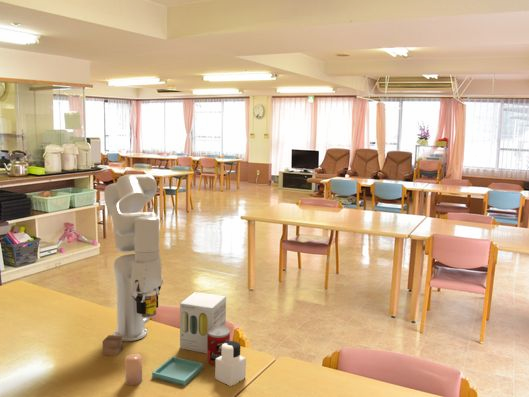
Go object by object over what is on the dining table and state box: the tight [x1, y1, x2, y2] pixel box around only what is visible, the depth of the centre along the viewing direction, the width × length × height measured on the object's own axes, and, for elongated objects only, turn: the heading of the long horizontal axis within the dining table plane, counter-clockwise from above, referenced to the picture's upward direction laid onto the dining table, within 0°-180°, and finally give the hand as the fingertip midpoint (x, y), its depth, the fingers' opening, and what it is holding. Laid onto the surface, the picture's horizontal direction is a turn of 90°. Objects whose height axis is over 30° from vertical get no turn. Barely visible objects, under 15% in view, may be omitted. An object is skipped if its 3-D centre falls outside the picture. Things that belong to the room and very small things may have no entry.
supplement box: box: [179, 291, 227, 354], centre depth 175 cm, size 13×13×18 cm
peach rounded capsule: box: [125, 353, 143, 386], centre depth 149 cm, size 5×5×8 cm
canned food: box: [206, 326, 231, 366], centre depth 163 cm, size 8×8×11 cm
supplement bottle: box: [139, 289, 157, 319], centre depth 151 cm, size 6×6×10 cm
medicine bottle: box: [214, 340, 247, 387], centre depth 151 cm, size 7×7×12 cm
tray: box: [151, 356, 204, 387], centre depth 155 cm, size 12×12×2 cm
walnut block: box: [102, 334, 123, 357], centre depth 168 cm, size 5×5×5 cm
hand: (147, 309), depth 151 cm, fingers closed on supplement bottle, 5 cm apart
